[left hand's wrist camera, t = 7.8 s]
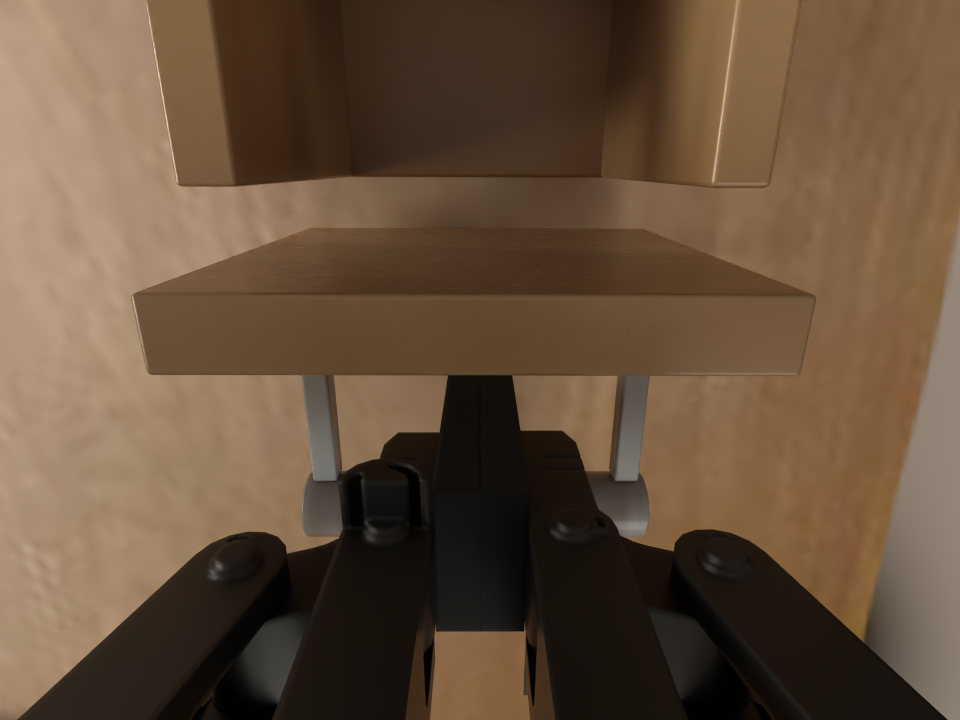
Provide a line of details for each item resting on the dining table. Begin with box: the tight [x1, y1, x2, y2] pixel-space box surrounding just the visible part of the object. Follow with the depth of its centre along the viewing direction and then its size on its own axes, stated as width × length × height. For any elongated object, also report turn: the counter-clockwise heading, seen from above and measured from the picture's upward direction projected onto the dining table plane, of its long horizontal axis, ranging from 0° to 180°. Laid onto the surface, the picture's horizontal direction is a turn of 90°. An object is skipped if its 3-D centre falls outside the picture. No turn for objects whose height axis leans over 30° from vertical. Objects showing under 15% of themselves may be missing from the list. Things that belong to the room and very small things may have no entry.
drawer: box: [131, 0, 816, 537], centre depth 10 cm, size 22×9×8 cm, turn 0°
